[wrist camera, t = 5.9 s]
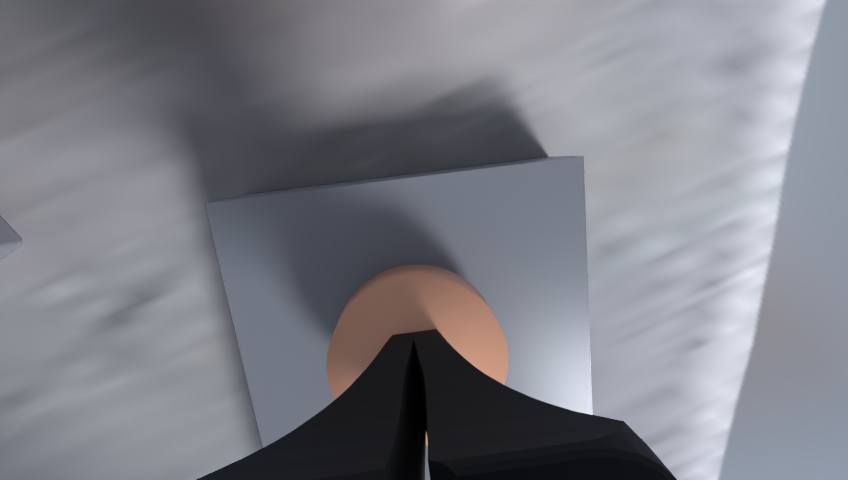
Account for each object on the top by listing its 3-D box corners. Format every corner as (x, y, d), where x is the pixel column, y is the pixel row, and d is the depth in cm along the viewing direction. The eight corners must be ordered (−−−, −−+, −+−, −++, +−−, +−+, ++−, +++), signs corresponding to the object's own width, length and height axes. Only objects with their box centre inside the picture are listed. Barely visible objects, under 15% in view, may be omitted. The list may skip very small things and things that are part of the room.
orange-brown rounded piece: (484, 358, 15) (514, 433, 11) (359, 376, 15) (342, 457, 11) (473, 236, 14) (501, 268, 10) (338, 253, 14) (311, 292, 10)
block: (572, 594, 20) (601, 670, 17) (337, 630, 20) (325, 713, 17) (549, 156, 15) (583, 156, 12) (243, 194, 15) (204, 203, 12)
